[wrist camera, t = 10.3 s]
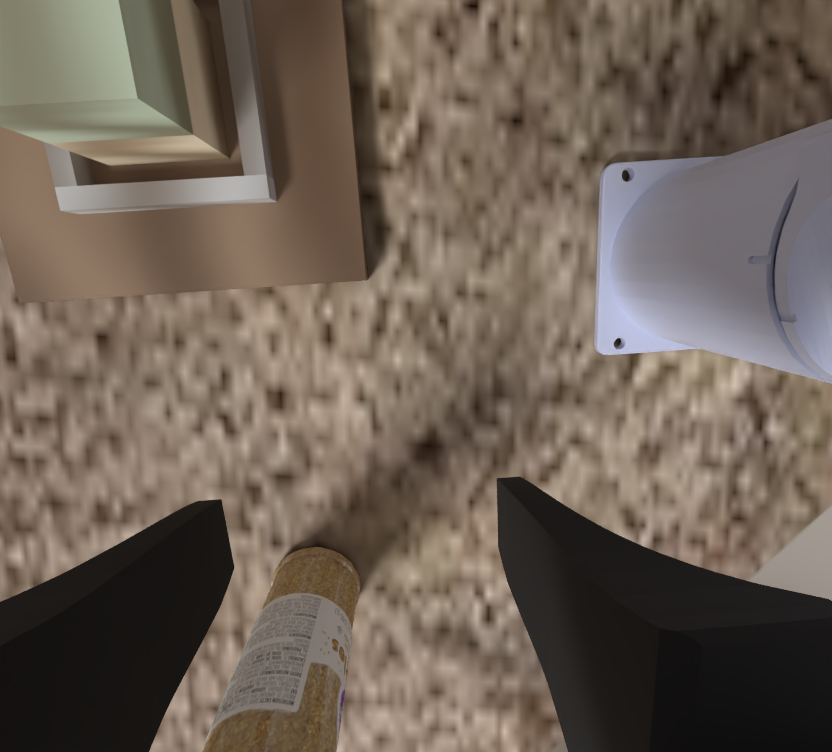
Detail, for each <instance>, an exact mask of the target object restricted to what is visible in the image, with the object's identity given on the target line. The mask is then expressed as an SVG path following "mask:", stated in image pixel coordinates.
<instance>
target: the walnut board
mask: <svg viewBox="0 0 832 752" xmlns="http://www.w3.org/2000/svg"><path fill="white" fill-rule="evenodd" d="M193 1H194V3H195V4H196V5H197V6H198V8H199V9H200V10H201V12H202V13H203V14H204V16H205V17H206V18H207V20H208V21H209V26H210V33H211V39H212V46H213V53H214V59H215V66H216V72H217V79H218V85H219V92H220V98H221V105H222V111H223V118H224V125H225V131H226V138H227V144H228V151H229V157H230V159H215V160H198V161H181V162H165V163H148V164H131V165H114V166H110V165H107V164H104V163H101V162H98V161H96V160H93V159H90V158H87V157H85V156H82V155H79V154H76V153H73V152H71V151H68V150H65V149H62V148H59V147H57V146H54V145H51V144H48V143H46V142H43V141H40V140H37V139H34V138H32V137H29V136H26V135H23V134H20V133H18V132H15V131H12V130H9V129H7V128H4V127H1V126H0V236H1V239H2V243H3V247H4V250H5V254H6V257H7V261H8V264H9V268H10V272H11V275H12V279H13V282H14V286H15V289H16V293H17V297H18V300H19V303H29V302H44V301H59V300H74V299H89V298H104V297H120V296H135V295H150V294H165V293H180V292H195V291H211V290H226V289H241V288H256V287H271V286H286V285H302V284H317V283H332V282H347V281H362V280H368V271H367V259H366V248H365V237H364V225H363V214H362V203H361V191H360V180H359V169H358V157H357V146H356V134H355V123H354V112H353V100H352V89H351V78H350V66H349V55H348V43H347V32H346V21H345V9H344V0H193Z"/></svg>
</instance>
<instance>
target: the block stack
mask: <svg viewBox="0 0 832 752" xmlns="http://www.w3.org/2000/svg"><path fill="white" fill-rule="evenodd" d="M0 126H1V127H4V128H7V129H9V130H12V131H15V132H18V133H20V134H23V135H26V136H29V137H32V138H34V139H37V140H40V141H43V142H46V143H48V144H51V145H54V146H57V147H59V148H62V149H65V150H68V151H71V152H73V153H76V154H79V155H82V156H85V157H87V158H90V159H93V160H96V161H98V162H101V163H104V164H107V165H110V166H114V165H131V164H148V163H165V162H181V161H198V160H215V159H230V157H229V151H228V144H227V138H226V131H225V125H224V118H223V111H222V105H221V98H220V92H219V85H218V79H217V72H216V66H215V59H214V53H213V46H212V39H211V33H210V26H209V21H208V20H207V18H206V17H205V16H204V14H203V13H202V12H201V10H200V9H199V8H198V6H197V5H196V4H195V3H194V1H193V0H0Z"/></svg>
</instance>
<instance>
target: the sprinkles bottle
mask: <svg viewBox="0 0 832 752" xmlns="http://www.w3.org/2000/svg"><path fill="white" fill-rule="evenodd" d="M359 594H360V580H359V576H358V573H357V572H356V569H355V568H354V567H353V565H352V563H351V562H350V561H349V560H348V559H346V558H345V557H344V556H343V555H342V554H340V553H338V552H336V551H333V550H330V549H327V548H322V547H312V548H304V549H300V550H298V551H295V552H293V553H291V554H290V555H288V556H286V557H285V558H284V559H283V560H282V561H281V562H280V564H279V565H278V567H277V568H276V570H275V572H274V574H273V578H272V584H271V589H270V591H269V593H268V596H267V599H266V601H265V604H264V606H263V609H262V610H261V612H260V613H259V615H258V617H257V619H256V621H255V623H254V626H253V628H252V630H251V633H250V635H249V637H248V640H247V642H246V645H245V647H244V649H243V652H242V654H241V656H240V659H239V661H238V664H237V666H236V668H235V671H234V673H233V676H232V678H231V680H230V683H229V685H228V688H227V690H226V693H225V695H224V697H223V700H222V702H221V705H220V707H219V710H218V712H217V714H216V717H215V719H214V722H213V724H212V726H211V729H210V731H209V734H208V736H207V739H206V742H205V745H204V750H203V752H336V750H337V745H338V739H339V731H340V724H341V716H342V709H343V701H344V695H345V687H346V680H347V673H348V666H349V659H350V652H351V645H352V627H353V621H354V613H355V606H356V604H357V602H358V598H359Z"/></svg>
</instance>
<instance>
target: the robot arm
mask: <svg viewBox="0 0 832 752" xmlns="http://www.w3.org/2000/svg"><path fill="white" fill-rule="evenodd" d="M624 170H626V171H627V172H628V173H629V176H630V177H629V180H628V181H627V182H626V181H624V180H623V179H622V172H623V171H624ZM617 338H620V339H621V344H620V345H619V346H618V347H616V348H615V347H614V341H615V340H616V339H617ZM594 346H595V349H596V350H597V351H598V352H599V353H601V354H604V355H615V354H629V353H643V352H658V351H672V350H686V349H703V350H707V351H710V352H714V353H718V354H722V355H726V356H729V357H733V358H737V359H741V360H745V361H748V362H752V363H756V364H760V365H764V366H767V367H771V368H775V369H779V370H783V371H786V372H790V373H794V374H798V375H802V376H805V377H809V378H813V379H817V380H821V381H824V382H828V383H832V119H830V120H827V121H824V122H821V123H818V124H815V125H812V126H810V127H807V128H804V129H801V130H798V131H795V132H792V133H789V134H787V135H784V136H781V137H778V138H775V139H772V140H769V141H767V142H764V143H761V144H758V145H755V146H752V147H749V148H747V149H744V150H741V151H738V152H735V153H732V154H729V155H726V156H717V157H700V158H684V159H667V160H651V161H635V162H618V163H613V164H610V165H608V166H607V167H605V168H604V169H603V171H602V173H601V176H600V194H599V222H598V251H597V279H596V307H595V335H594ZM497 506H498V547H499V551H500V555H501V559H502V563H503V567H504V571H505V574H506V578H507V582H508V584H509V587H510V589H511V592H512V594H513V597H514V599H515V602H516V604H517V607H518V609H519V612H520V614H521V617H522V619H523V622H524V624H525V627H526V629H527V631H528V634H529V636H530V639H531V641H532V644H533V646H534V649H535V651H536V654H537V656H538V658H539V661H540V663H541V666H542V669H543V672H544V674H545V677H546V680H547V683H548V686H549V689H550V692H551V695H552V699H553V702H554V705H555V709H556V712H557V715H558V719H559V722H560V725H561V729H562V732H563V735H564V739H565V742H566V746H567V749H568V752H832V601H831V600H829V599H825V598H821V597H816V596H811V595H806V594H802V593H797V592H793V591H788V590H783V589H779V588H774V587H770V586H765V585H760V584H756V583H752V582H749V581H745V580H741V579H738V578H734V577H731V576H727V575H724V574H720V573H716V572H713V571H710V570H707V569H704V568H700V567H697V566H694V565H691V564H688V563H685V562H683V561H680V560H677V559H674V558H672V557H669V556H666V555H663V554H661V553H658V552H656V551H653V550H651V549H648V548H646V547H643V546H641V545H639V544H637V543H634V542H632V541H630V540H628V539H625V538H623V537H621V536H619V535H617V534H615V533H613V532H611V531H609V530H607V529H605V528H603V527H601V526H599V525H597V524H596V523H594V522H592V521H590V520H588V519H587V518H585V517H583V516H581V515H580V514H578V513H576V512H575V511H573V510H571V509H570V508H568V507H566V506H565V505H563V504H562V503H560V502H559V501H557V500H556V499H554V498H552V497H551V496H549V495H548V494H546V493H545V492H543V491H542V490H540V489H539V488H537V487H536V486H534V485H533V484H531V483H530V482H528V481H527V480H525V479H523V478H521V477H510V478H497ZM233 570H234V564H233V558H232V553H231V548H230V543H229V537H228V532H227V527H226V521H225V516H224V511H223V506H222V500H221V499H220V500H207V501H197V502H195V503H192V504H190V505H188V506H186V507H184V508H182V509H180V510H178V511H176V512H174V513H172V514H171V515H169V516H167V517H165V518H164V519H162V520H160V521H158V522H156V523H155V524H153V525H151V526H149V527H148V528H146V529H144V530H143V531H141V532H139V533H137V534H136V535H134V536H132V537H130V538H129V539H127V540H125V541H123V542H121V543H120V544H118V545H116V546H114V547H112V548H110V549H108V550H107V551H105V552H103V553H101V554H99V555H97V556H95V557H94V558H92V559H90V560H88V561H86V562H84V563H82V564H81V565H79V566H77V567H75V568H73V569H71V570H69V571H67V572H65V573H63V574H61V575H59V576H57V577H55V578H53V579H51V580H48V581H46V582H44V583H42V584H40V585H38V586H35V587H33V588H31V589H29V590H27V591H24V592H22V593H20V594H18V595H15V596H13V597H11V598H9V599H6V600H4V601H1V602H0V752H149V750H150V748H151V745H152V743H153V740H154V738H155V736H156V733H157V731H158V728H159V726H160V724H161V721H162V719H163V717H164V715H165V712H166V710H167V708H168V706H169V704H170V702H171V700H172V698H173V696H174V694H175V692H176V690H177V688H178V686H179V684H180V683H181V681H182V679H183V677H184V675H185V673H186V671H187V669H188V667H189V665H190V664H191V662H192V660H193V658H194V656H195V654H196V652H197V650H198V648H199V647H200V645H201V643H202V641H203V639H204V637H205V635H206V633H207V631H208V629H209V627H210V625H211V624H212V622H213V620H214V618H215V616H216V614H217V612H218V610H219V608H220V606H221V603H222V601H223V598H224V596H225V593H226V590H227V588H228V585H229V582H230V579H231V576H232V573H233Z"/></svg>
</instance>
